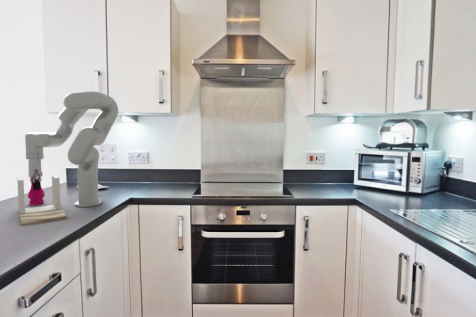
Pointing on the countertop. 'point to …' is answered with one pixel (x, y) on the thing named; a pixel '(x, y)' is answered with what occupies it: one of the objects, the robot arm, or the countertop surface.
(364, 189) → the countertop surface
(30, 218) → the oak board
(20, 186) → the gate
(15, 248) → the countertop surface
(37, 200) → the pepper mill
